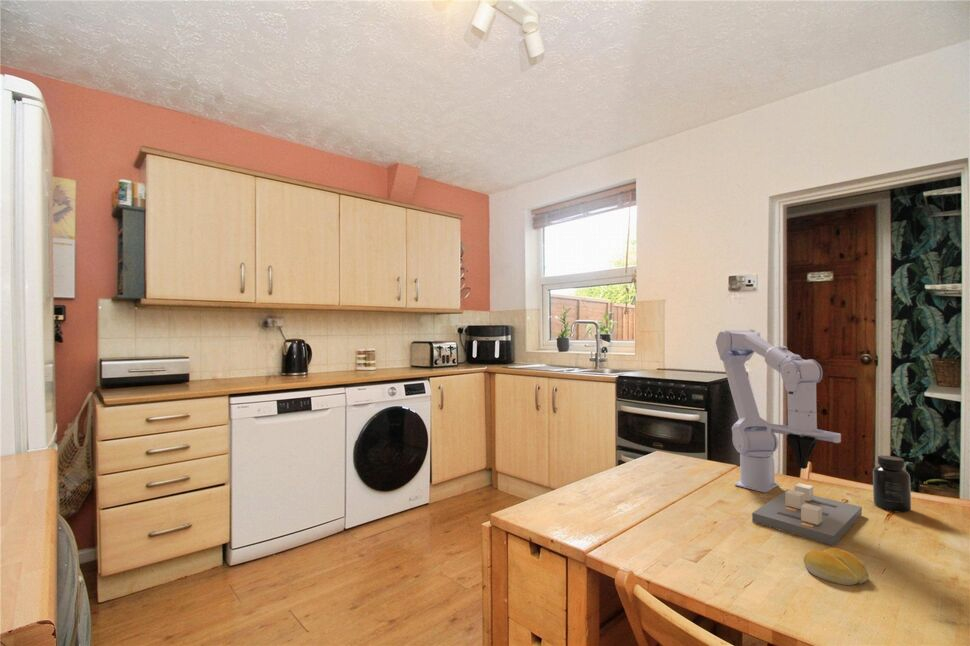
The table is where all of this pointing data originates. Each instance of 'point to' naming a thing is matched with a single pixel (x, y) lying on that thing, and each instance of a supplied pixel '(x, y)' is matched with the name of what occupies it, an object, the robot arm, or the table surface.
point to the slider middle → (794, 499)
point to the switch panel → (789, 519)
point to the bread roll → (836, 566)
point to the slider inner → (805, 491)
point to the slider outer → (811, 514)
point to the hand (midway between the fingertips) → (802, 467)
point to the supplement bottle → (891, 485)
